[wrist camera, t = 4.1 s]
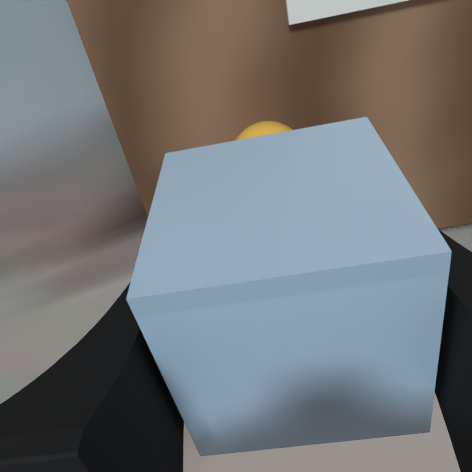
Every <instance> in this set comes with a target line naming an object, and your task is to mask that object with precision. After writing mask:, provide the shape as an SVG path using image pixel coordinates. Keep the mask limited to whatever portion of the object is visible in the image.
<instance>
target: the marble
mask: <svg viewBox="0 0 472 472" xmlns="http://www.w3.org/2000/svg"><path fill="white" fill-rule="evenodd" d="M291 130H293V129H291V128H290V127H288V126H287V125H285V124H282V123H279V122H276V121H262V122H258V123H255V124H252V125H251V126H249V127H247V128H246V129H245V130H243V131H242V132H241V133H240V134H239V136H238V137H237V138H236V140H241V139H247V138H252V137H258V136H263V135H269V134H274V133H280V132H285V131H291ZM236 140H235V141H236Z"/></svg>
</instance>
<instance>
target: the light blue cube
mask: <svg viewBox="0 0 472 472" xmlns="http://www.w3.org/2000/svg"><path fill="white" fill-rule="evenodd" d="M451 253H452V251H451V249H450V248H449V246H448V245H447V243H446V242H445V240H444V238H443V237H442V235H441V234H440V232H439V230H438V229H437V227H436V226H435V224H434V222H433V221H432V219H431V218H430V216H429V215H428V213H427V211H426V210H425V208H424V207H423V205H422V203H421V202H420V200H419V199H418V197H417V195H416V194H415V192H414V191H413V189H412V188H411V186H410V184H409V183H408V181H407V180H406V178H405V176H404V175H403V173H402V172H401V170H400V168H399V167H398V165H397V164H396V162H395V161H394V159H393V157H392V156H391V154H390V153H389V151H388V149H387V148H386V146H385V145H384V143H383V142H382V140H381V138H380V137H379V135H378V134H377V132H376V130H375V129H374V127H373V126H372V124H371V122H370V121H369V119H368V118H367V117H362V118H357V119H351V120H346V121H340V122H335V123H329V124H324V125H318V126H313V127H307V128H302V129H296V130H291V131H285V132H280V133H274V134H269V135H263V136H258V137H252V138H247V139H241V140H236V141H230V142H225V143H219V144H213V145H208V146H202V147H197V148H191V149H186V150H180V151H175V152H169V153H165V157H164V160H163V164H162V168H161V171H160V175H159V179H158V183H157V186H156V190H155V194H154V197H153V201H152V205H151V209H150V212H149V216H148V220H147V223H146V227H145V231H144V235H143V238H142V242H141V246H140V249H139V253H138V257H137V261H136V264H135V268H134V272H133V275H132V279H131V283H130V287H129V290H128V294H127V298H126V300H127V302H128V304H129V306H130V308H131V310H132V313H133V315H134V317H135V319H136V321H137V323H138V325H139V327H140V329H141V332H142V334H143V336H144V338H145V340H146V342H147V344H148V346H149V349H150V351H151V353H152V355H153V357H154V359H155V361H156V363H157V366H158V368H159V370H160V372H161V374H162V376H163V378H164V380H165V382H166V385H167V387H168V389H169V391H170V393H171V395H172V397H173V399H174V402H175V404H176V406H177V408H178V410H179V412H180V414H181V416H182V418H183V421H184V423H185V425H186V427H187V429H188V431H189V433H190V435H191V437H192V440H193V442H194V444H195V446H196V448H197V450H198V452H199V454H200V456H207V455H216V454H226V453H236V452H245V451H254V450H264V449H274V448H284V447H293V446H302V445H312V444H322V443H331V442H340V441H350V440H359V439H368V438H379V437H389V436H398V435H407V434H417V433H426V432H430V425H431V417H432V409H433V400H434V392H435V384H436V376H437V368H438V360H439V351H440V343H441V335H442V327H443V319H444V310H445V302H446V294H447V286H448V278H449V270H450V261H451Z"/></svg>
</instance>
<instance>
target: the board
mask: <svg viewBox="0 0 472 472" xmlns="http://www.w3.org/2000/svg"><path fill="white" fill-rule="evenodd" d="M67 2H68V5H69V7H70V10H71V13H72V15H73V18H74V21H75V23H76V26H77V29H78V31H79V34H80V37H81V39H82V42H83V45H84V47H85V50H86V53H87V55H88V58H89V61H90V63H91V66H92V69H93V71H94V74H95V77H96V79H97V82H98V85H99V87H100V90H101V93H102V95H103V98H104V101H105V103H106V106H107V109H108V111H109V114H110V117H111V119H112V122H113V125H114V127H115V130H116V133H117V135H118V138H119V141H120V143H121V146H122V149H123V151H124V154H125V157H126V159H127V162H128V165H129V168H130V170H131V173H132V176H133V178H134V181H135V184H136V186H137V189H138V192H139V194H140V197H141V200H142V202H143V205H144V208H145V210H146V213H147V216H149V212H150V209H151V205H152V201H153V197H154V194H155V190H156V186H157V183H158V179H159V175H160V171H161V168H162V164H163V160H164V157H165V153H169V152H175V151H180V150H186V149H191V148H197V147H202V146H208V145H213V144H219V143H225V142H230V141H235V140H236V138H237V137H238V136H239V134H240V133H241V132H242V131H243V130H245V129H246V128H247V127H249V126H251V125H252V124H255V123H258V122H262V121H276V122H279V123H282V124H285V125H287V126H288V127H290V128H291V129H293V130H296V129H302V128H307V127H313V126H318V125H324V124H329V123H335V122H340V121H346V120H351V119H357V118H362V117H367V118H368V119H369V121H370V122H371V124H372V126H373V127H374V129H375V130H376V132H377V134H378V135H379V137H380V138H381V140H382V142H383V143H384V145H385V146H386V148H387V149H388V151H389V153H390V154H391V156H392V157H393V159H394V161H395V162H396V164H397V165H398V167H399V168H400V170H401V172H402V173H403V175H404V176H405V178H406V180H407V181H408V183H409V184H410V186H411V188H412V189H413V191H414V192H415V194H416V195H417V197H418V199H419V200H420V202H421V203H422V205H423V207H424V208H425V210H426V211H427V213H428V215H429V216H430V218H431V219H432V221H433V222H434V224H435V226H436V227H437V229H439V228H445V227H452V226H458V225H465V224H471V223H472V0H408V1H403V2H398V3H393V4H388V5H384V6H379V7H374V8H369V9H364V10H359V11H355V12H350V13H345V14H340V15H335V16H331V17H326V18H321V19H316V20H311V21H306V22H302V23H297V24H292V25H289V24H288V18H287V9H286V0H67Z"/></svg>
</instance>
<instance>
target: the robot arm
mask: <svg viewBox="0 0 472 472" xmlns="http://www.w3.org/2000/svg"><path fill="white" fill-rule="evenodd" d="M438 230H439V229H438ZM439 232H440V234H441V235H442V237H443V238H444V240H445V242H446V243H447V245H448V246H449V248H450V249H451V251H452V253H451V261H450V270H449V278H448V286H447V294H446V302H445V310H444V319H443V327H442V335H441V343H440V351H439V360H438V368H437V376H436V384H435V393H436V396H437V399H438V402H439V405H440V408H441V411H442V414H443V417H444V420H445V423H446V426H447V429H448V432H449V435H450V438H451V442H452V445H453V448H454V451H455V455H456V458H457V461H458V464H459V468H460V471H461V472H472V252H471V251H469V250H468V249H466V248H465V247H463V246H461V245H460V244H458V243H457V242H456V241H454V240H453V239H451V238H450V237H448V236H447V235H445V234H444V233H443V232H441V231H440V230H439ZM130 283H131V282H130ZM130 283H129V285H128V286H127V287H126V289H125V290H124V291H123V293H122V294H121V295H120V297H119V298H118V299H117V300H116V301H115V303H114V304H113V305H112V306H111V308H110V309H109V310H108V311H107V313H106V314H105V315H104V316H103V317H102V318H101V319H100V321H99V322H98V323H97V324H96V325H95V326H94V327H93V328H92V329H91V330H90V331H89V332H88V333H87V334H86V335H85V336H84V337H83V338H82V339H81V340H80V341H79V342H78V343H77V344H76V345H75V346H74V347H73V348H72V349H70V350H69V351H68V352H67V353H66V354H65V355H64V356H63V357H61V358H60V359H59V360H58V361H57V362H56V363H55V364H54V365H52V366H51V367H50V368H49V369H48V370H46V371H45V372H44V373H43V374H41V375H40V376H39V377H38V378H36V379H35V380H34V381H32V382H31V383H30V384H28V385H27V386H26V387H24V388H23V389H22V390H20V391H19V392H18V393H16V394H15V395H13V396H12V397H11V398H9V399H8V400H6V401H5V402H3V403H2V404H0V472H183V427H184V421H183V418H182V416H181V414H180V412H179V410H178V408H177V406H176V404H175V402H174V399H173V397H172V395H171V393H170V391H169V389H168V387H167V385H166V382H165V380H164V378H163V376H162V374H161V372H160V370H159V368H158V366H157V363H156V361H155V359H154V357H153V355H152V353H151V351H150V349H149V346H148V344H147V342H146V340H145V338H144V336H143V334H142V332H141V329H140V327H139V325H138V323H137V321H136V319H135V317H134V315H133V313H132V310H131V308H130V306H129V304H128V302H127V300H126V298H127V294H128V290H129V287H130Z"/></svg>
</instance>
